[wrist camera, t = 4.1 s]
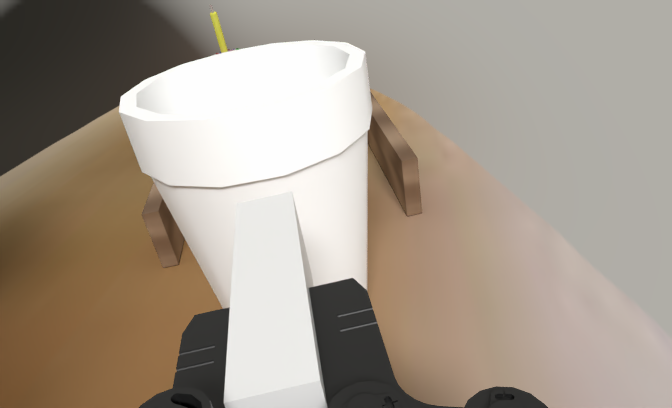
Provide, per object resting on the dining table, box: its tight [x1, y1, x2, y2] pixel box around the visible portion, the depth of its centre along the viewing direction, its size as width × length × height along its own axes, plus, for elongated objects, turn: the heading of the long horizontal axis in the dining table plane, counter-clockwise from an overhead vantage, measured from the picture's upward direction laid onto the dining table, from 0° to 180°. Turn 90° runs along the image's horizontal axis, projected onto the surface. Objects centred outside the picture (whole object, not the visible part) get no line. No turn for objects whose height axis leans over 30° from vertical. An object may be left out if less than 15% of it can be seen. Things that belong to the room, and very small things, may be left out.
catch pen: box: [142, 92, 422, 268], centre depth 39 cm, size 16×17×4 cm
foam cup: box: [119, 40, 372, 309], centre depth 23 cm, size 10×9×13 cm
